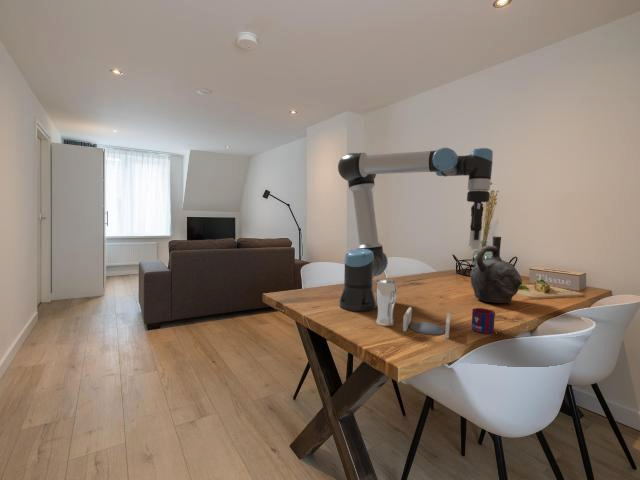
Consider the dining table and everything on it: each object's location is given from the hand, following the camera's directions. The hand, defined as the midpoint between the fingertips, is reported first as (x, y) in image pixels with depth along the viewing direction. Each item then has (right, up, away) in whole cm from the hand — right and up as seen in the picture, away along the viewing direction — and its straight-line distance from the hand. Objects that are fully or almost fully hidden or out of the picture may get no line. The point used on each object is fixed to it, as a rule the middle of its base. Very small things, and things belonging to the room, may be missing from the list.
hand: (473, 247), depth 122 cm
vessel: (+20, -26, +26) cm, 42 cm away
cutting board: (+57, -26, +48) cm, 79 cm away
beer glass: (-36, -27, -9) cm, 45 cm away
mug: (-3, -28, -13) cm, 31 cm away
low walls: (-23, -27, -14) cm, 38 cm away
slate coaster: (-23, -27, -14) cm, 38 cm away
